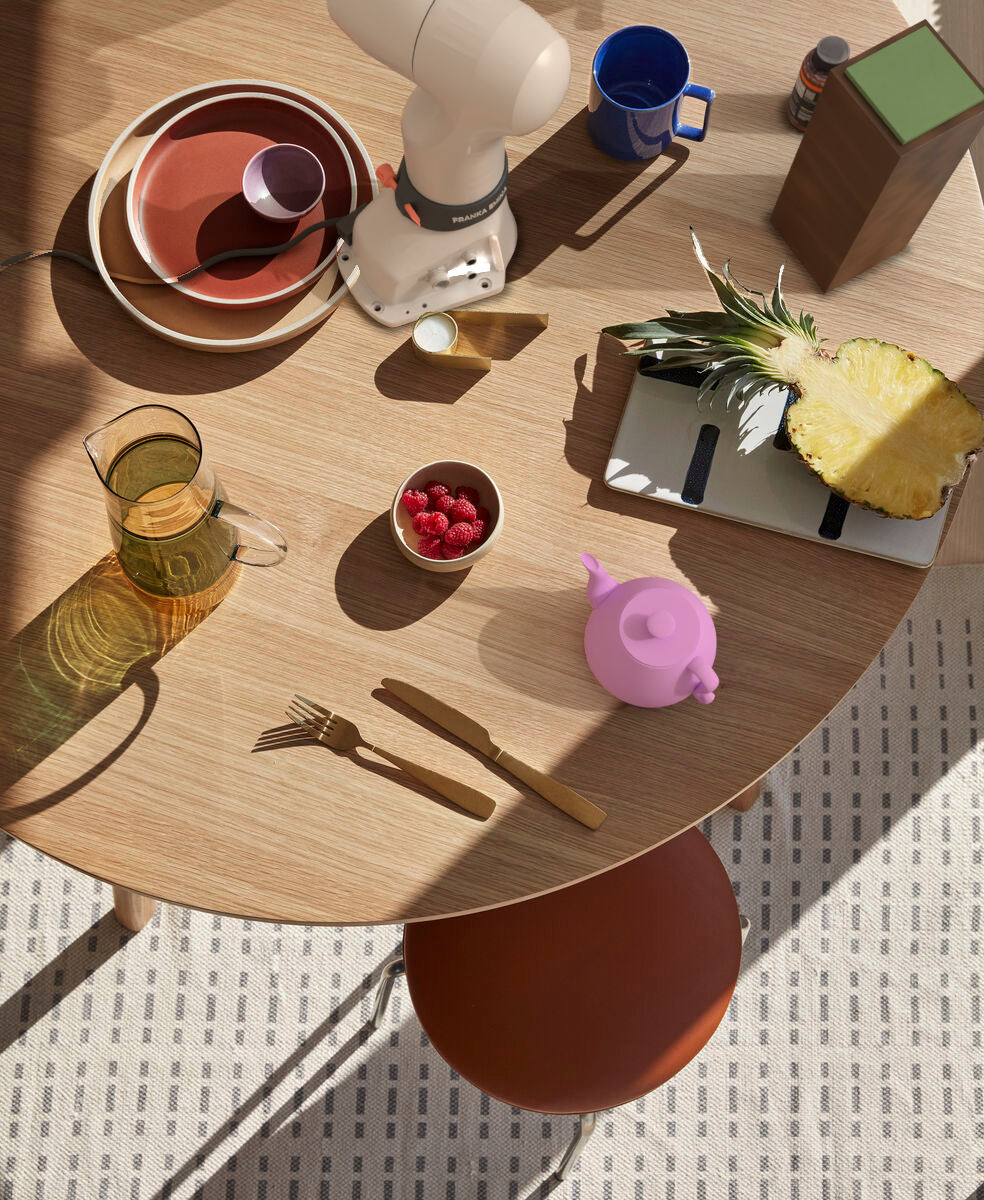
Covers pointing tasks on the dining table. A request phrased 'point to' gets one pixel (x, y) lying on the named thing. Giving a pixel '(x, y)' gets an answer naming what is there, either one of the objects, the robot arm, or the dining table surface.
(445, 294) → the robot arm
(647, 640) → the teapot
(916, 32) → the green mat
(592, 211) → the dining table surface
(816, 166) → the walnut stand
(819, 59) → the supplement bottle
